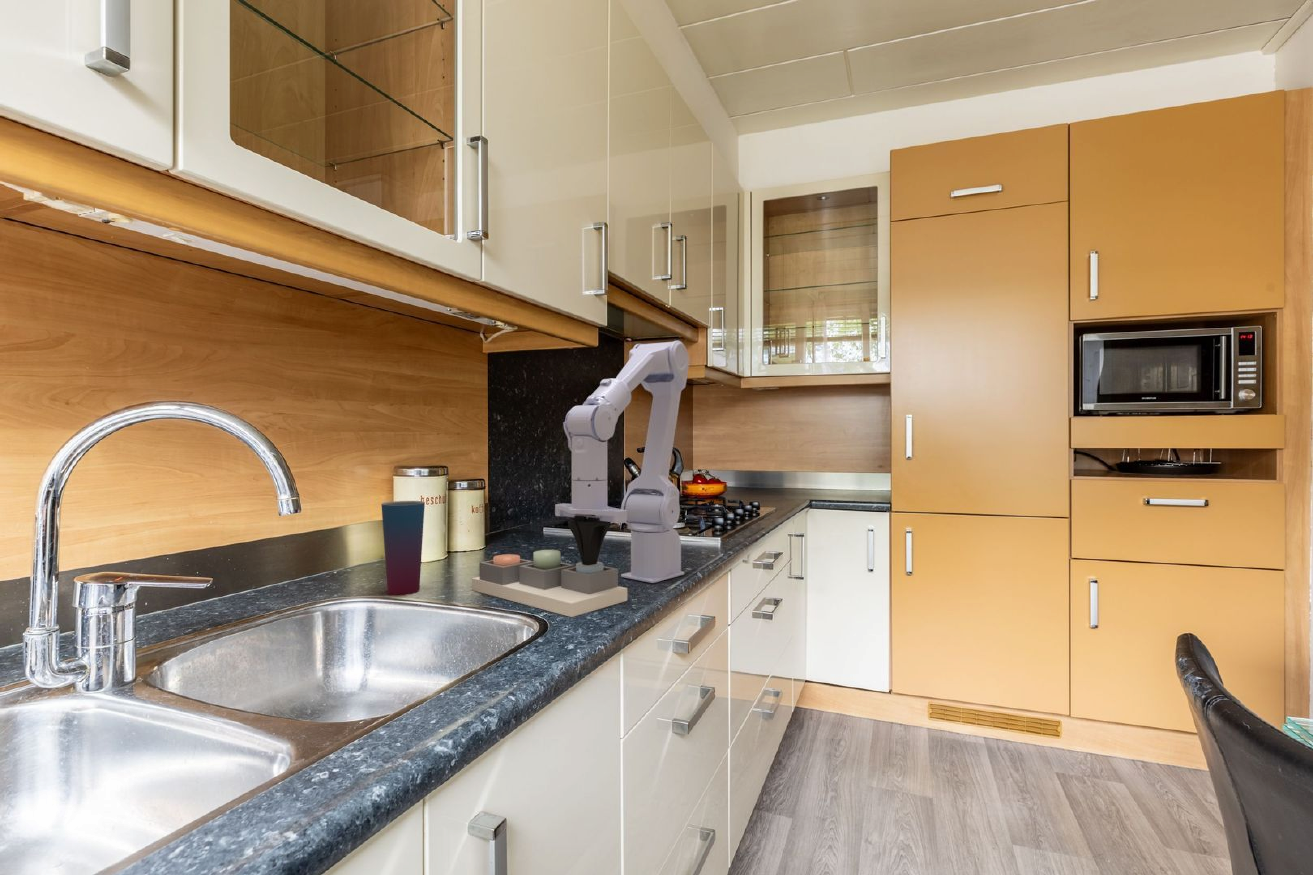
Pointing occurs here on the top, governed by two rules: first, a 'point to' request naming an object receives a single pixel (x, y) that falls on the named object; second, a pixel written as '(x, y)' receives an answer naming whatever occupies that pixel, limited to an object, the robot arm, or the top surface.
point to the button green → (546, 559)
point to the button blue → (589, 568)
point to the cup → (403, 545)
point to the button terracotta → (506, 560)
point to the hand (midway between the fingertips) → (589, 564)
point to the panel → (551, 587)
